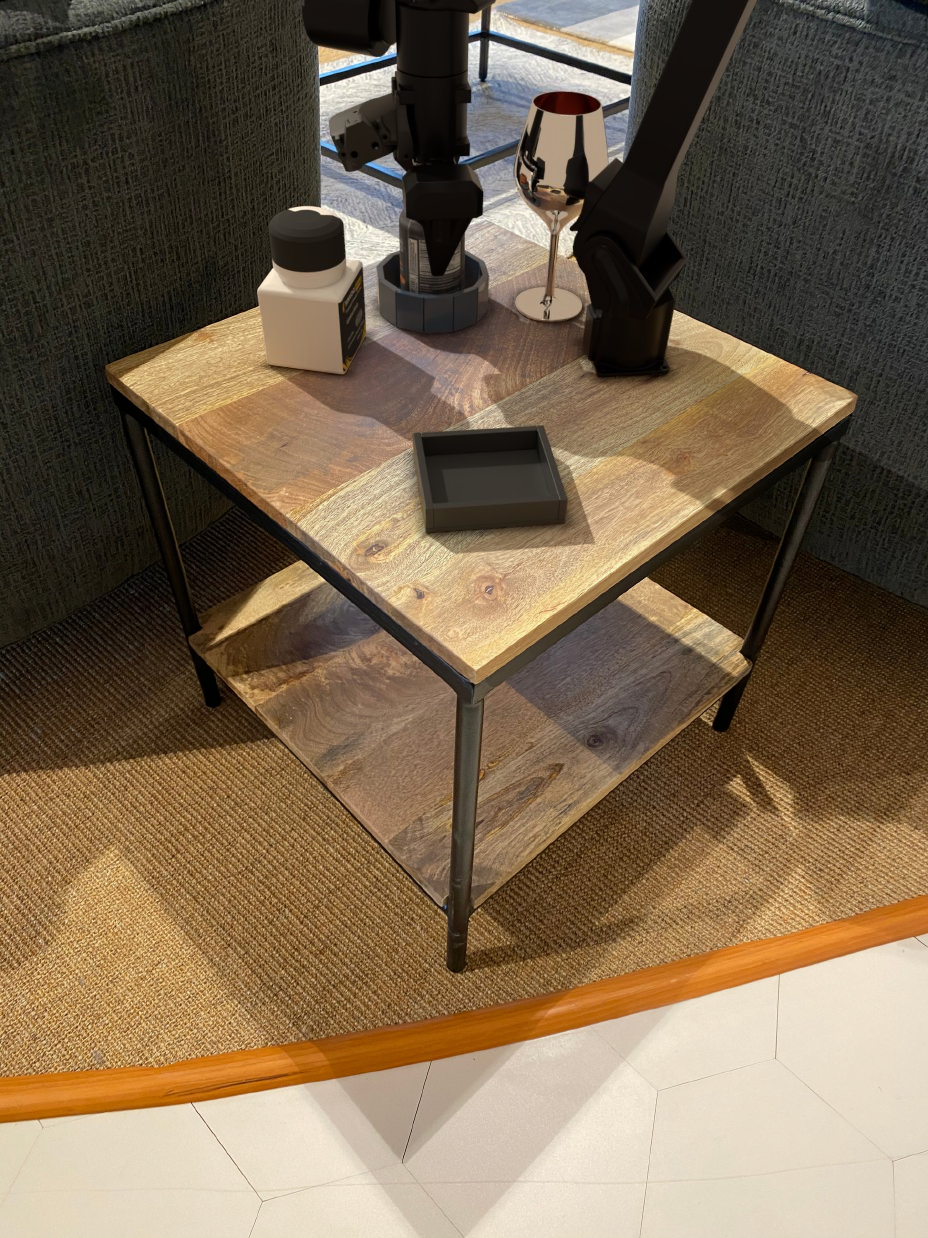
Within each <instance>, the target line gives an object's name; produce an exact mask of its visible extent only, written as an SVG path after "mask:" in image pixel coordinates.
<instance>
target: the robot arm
mask: <svg viewBox="0 0 928 1238" xmlns="http://www.w3.org/2000/svg"><path fill="white" fill-rule="evenodd" d="M757 1H758V0H691V1H690V3H689V5H688V8H687V11H686V13H685V15H684V18H683V21H682V23H681V25H680V28H679V30H678V32H677V35H676V37H675V40H674V42H673V44H672V47H671V49H670V52H669V54H668V57H667V59H666V60H665V61H666V62H665V64H664V66H663V68H662V71H661V73H660V76H659V78H658V80H657V83H656V85H655V88H654V91H653V92H652V94H651V96H650V100H649V102H648V104H647V107H646V110H645V112H644V114H643V117H642V119H641V121H640V124H639V126H638V128H637V131H636V134H635V136H634V137H633V141H632V143H631V145H630V148H629V150H628V153H627V155H626V157H625V160H624V162H623V161H621V159H619V158H618V157H614V159H613V160H611V161H610V162H608V165H607V166H606V167H605V168H604V169H603V170H602V171H601V172H600V173H599V174H598V175H597V176H596V177H595V178H594V179H593V180H592V181H591V182H589V184H588V187H587V190H586V192H585V196H584V201H583V206H582V210H581V213H580V215H579V216H578V217H577V218H576V220H575V221H574V222H573V223H572V225H571V226H570V227H569V228H568V229H569V232H576V234H575V235H574V237H573V243H572V256H573V258H574V259H575V261H576V262H577V263H576V264H577V266H578V268H579V270H581V272H582V273H583V274H584V279H585V282H586V283H585V284H586V287H587V291H588V295H589V300H590V303H589V304H588V305H587V306H586V310H585V311H586V312H585V320H584V327H583V335H582V345H581V346H582V348H583V351H584V353H585V357H586V359H587V361H589V362H590V363H591V365H592V368H593V370H594V372H595V375H596V377H598V378H600V379H613V378H615V379H616V378H632V377H646V376H647V377H651V376H652V377H653V376H667V375H669V374H670V372H671V366H670V364H669V362H668V360H667V358H666V354H667V349H668V345H669V344H668V343H669V339H670V334H671V327H672V322H673V318H674V313H675V308H676V301H677V298H676V297H675V296H674V293H673V292H672V291H671V289H670V286H671V285H672V284H673V282H675V281H676V280H677V279H678V278H679V276H680V274H681V273H682V271H683V269H684V267H685V266H686V265H687V263H688V257H687V255H686V254H685V252H684V251H683V249H682V248H681V246H680V245H679V243H678V242H677V240H676V239H675V237H674V236H673V234H672V232H671V231H670V229H669V228H668V226H669V221H670V218H671V214H672V211H673V208H674V204H675V199H676V191H677V184H678V183H677V182H678V175H679V171H680V167H681V165H682V162H683V161H684V159H685V156H686V154H687V152H688V150H689V148H690V145H691V144H692V141H693V139H694V138H695V135H696V133H697V130H698V128H699V126H700V124H701V122H702V120H703V118H704V115H705V113H706V111H707V109H708V107H709V105H710V103H711V100H712V99H713V96H714V95H715V92H716V90H717V87H718V86H719V83H720V82H721V79H722V78H723V77H722V76H723V75H724V73H725V70H726V68H727V66H728V63H729V61H730V59H731V57H732V55H733V53H734V51H735V48H736V46H737V45H738V42H739V40H740V38H741V36H742V33H743V31H744V29H745V28H746V25H747V23H748V21H749V18H750V16H751V14H752V12H753V10H754V8H755V6H756V3H757ZM496 2H497V0H303V3H302V5H301V17H302V24H303V27H304V31H305V33H306V35H307V37H308V39H309V41H310V42H311V43H312V45H315V46H316V47H320V48H326V49H331V50H337V51H342V52H346V53H351V54H357V55H363V56H368V57H373V58H381V57H383V56H384V55H385V54H387V52H388V51H389V49H390V48H391V46H394V45H395V48H396V49H395V53H396V70H394V75H393V76H391V77H390V82H391V84H390V85H391V86H390V87H391V88H390V89H391V92H390V93H387V94H385V95H381V96H378V97H373V98H370V99H368V100H365V101H363V102H361V103H359V104H356V105H354V106H351V107H349V108H346V109H345V110H342V111H339V112H337V113H335V114H334V115H332V116H331V117H330V118H329V119H328V128H329V136H330V138H331V140H332V143H333V145H334V148H335V150H336V152H337V157H338V159H339V160H340V161H341V164H342V166H343V169H344V171H345V172H347V173H353V172H356V171H360V170H362V168H363V166H366V165H367V164H369V163H372V162H374V161H377V160H379V159H382V158H384V157H387V156H389V155H391V154H392V157H393V160H394V161H395V162H396V164H398V165H399V166H400V167H401V169H403V170H404V171H405V173H404V175H402V177H401V194H402V206H403V209H404V210H405V215H406V218H408V219H411V220H415V221H416V222H417V223H419V224H420V225H421V226H422V229H423V234H424V239H425V245H426V250H427V255H428V260H429V265H430V270H431V274H432V275H433V276H442V275H444V274H445V272H446V270H447V268H448V266H449V263H450V261H451V259H452V257H453V255H454V253H455V251H456V249H457V247H458V245H459V243H460V241H461V239H462V237H463V235H464V234H465V235H466V231H467V230H468V228H469V226H470V224H471V223H472V221H473V219H479V218H480V217H482V216H484V196H485V195H484V193H485V192H484V189H483V186H482V183H481V181H480V177H479V175H478V173H476V172H475V170H473V168H472V167H471V166H470V165H468V164H467V163H459V162H460V159H461V157H471V142H470V139H469V136H468V104H472V87H471V85H470V84H471V83H469V46H470V45H469V44H470V43H469V41H470V40H469V39H470V15H475V14H478V13H480V12H481V11H483V10H485V9H487V8H488V7H490V6H492V5H494V4H495V3H496Z"/></svg>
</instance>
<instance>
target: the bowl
mask: <svg viewBox="0 0 928 1238" xmlns="http://www.w3.org/2000/svg"><path fill="white" fill-rule="evenodd" d="M375 269H376V292H377V294H376V295H377V305H378V313H379V315H380V317H382V318H383V319H385V320H386V321H387V322H389V324H391V325H393V326H394V327H396V328H399V329H403V330H407V331H412V332H416V333H420V334H442V333H443V334H444V333H455V332H457V331H460V330H462V329H466V328H468V327H471V326H474V325H476V324H477V323H479V321H480V320H481V319H482V318H483V316H484V315H485V314H486V313H487V312H488V307H489V285H490V284H489V283H490V274H489V271H488V268H487V264H486V262H485V260H483V259H481V258H480V257H478V256H477V255H475V254H473V253H472V252H470V251H469V250H466V249H465V274H464V276H465V278H464V290H461V291H458V292H456V293H453V294H438V295H422V294H417V293H413V292H408V291H404V290H401V283H400V282H401V279H400V249H399V250H396V251H394V252H391V253H389V254H388V253H387V255H386V256H385V257H384V258H383V259H382V260H381V261H380V262H379V263H378V264H376V268H375Z"/></svg>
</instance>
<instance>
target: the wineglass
mask: <svg viewBox="0 0 928 1238" xmlns="http://www.w3.org/2000/svg"><path fill="white" fill-rule="evenodd" d="M604 118H605V117H604V112H603V104H602V102H601V100H600V99H599V98H598V97H595V96H593V95H590V94H587V93H583V92H578V91H571V90H553V91H547V92H543V93H540V94H538V95H536V96H534V97H533V98H532V101H531V104H530V107H529V110H528V113H527V115H526V119H525V122H524V125H523V127H522V132H521V135H520V138H519V142H518V145H517V149H516V152H515V157H514V162H513V169H512V174H513V181H514V182H513V183H514V185H515V188H516V191H517V193H518V195H519V196H520V198H521V199H522V201H523V202H524V203H525V205H526V206H527V207H528V208H529V209H530V210H531V211H532V212H533V213H534V214H535V215H536V216H538V217H539V218H540V219H541V221H543V223H544V224H545V225H546V227H547V229H548V230H549V234H550V235H549V248H548V249H549V250H548V260H547V271H546V281H545V286H538V287H533V288H529V289H526V290H524V291H522V292H520V293H519V294H518V295H517V296H516V298H515V300H514V305H515V308H516V310H517V311H518V313H520V314H521V315H523V316H524V317H526V318H528V319H531V320H533V321H534V320H535V321H537V322H538V321H539V322H543V323H560V322H565V321H569V320H571V319H574V318H576V317H577V316H578V315H579V314H581V312H582V309H583V303H582V301H581V299H580V298H579V296H577V295H576V294H575V293H573V292H570V291H569V290H566V289H563V288H558V287H556V273H557V262H558V253H559V251H558V250H559V241H560V234H561V232H562V231H563V229H564V228H565V227H567V225H568V224H569V223H571V222H572V221H573V220H575V219H577V218H578V217H579V215H580V213H581V210H582V206H583V201H584V196H585V192H586V190H587V187H588V184H589V182H591V181H592V180H593V179H594V178H595V177H596V176H597V175H598V174H599V173H600V172H601V171H602V170H603V169H604V168H605V167H606V166H607V165H608V164H609V151H608V142H607V134H606V127H605V119H604Z"/></svg>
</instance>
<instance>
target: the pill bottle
mask: <svg viewBox="0 0 928 1238" xmlns="http://www.w3.org/2000/svg"><path fill="white" fill-rule="evenodd" d="M398 240H399V241H398V242H399V243H398V245H399V250H400V279H401V282H400V283H401V288H400V290H404V291H408V292H413V293H417V294H422V295H438V294H453V293H456V292H458V291H461V290H464V289H465V288H464V278H465V276H464V274H465V250H466V233H465V234H464V235H463V237H462V239H461V241H460V243H459V245H458V247H457V249H456V251H455V253H454V255H453V257H452V259H451V261H450V263H449V266H448V268H447V270H446V272H445V274H444V275H442V276H433V275H432V274H431V270H430V265H429V260H428V255H427V250H426V245H425V239H424V234H423V229H422V226H421V225H420V224H419V223H417V222H416V221H415V220H411V219H408V218H406V215H405V210H404V208H403V209H402V210H401V211H400V214H399V217H398Z"/></svg>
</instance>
